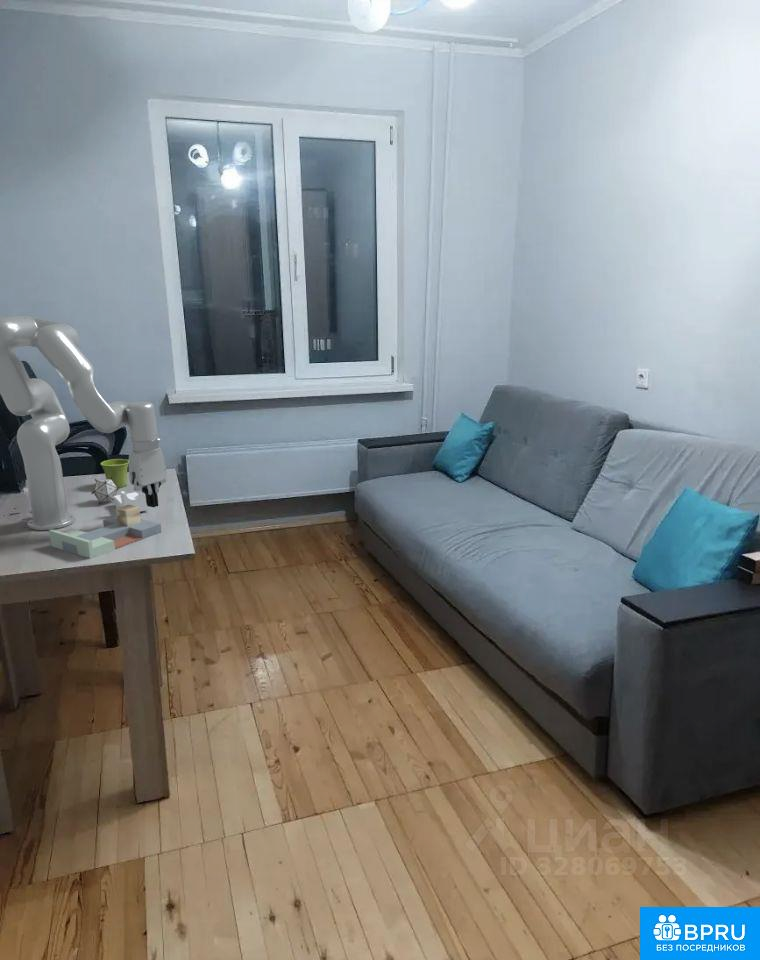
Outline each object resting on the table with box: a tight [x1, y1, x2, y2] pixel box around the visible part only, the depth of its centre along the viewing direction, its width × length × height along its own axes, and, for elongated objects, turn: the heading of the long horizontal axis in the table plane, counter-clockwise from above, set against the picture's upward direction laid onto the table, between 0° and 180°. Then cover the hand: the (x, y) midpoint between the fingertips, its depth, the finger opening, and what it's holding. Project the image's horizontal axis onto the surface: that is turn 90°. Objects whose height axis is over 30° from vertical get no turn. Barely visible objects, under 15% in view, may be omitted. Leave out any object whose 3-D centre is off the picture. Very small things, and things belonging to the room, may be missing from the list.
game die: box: [90, 477, 121, 505], centre depth 222 cm, size 9×8×10 cm
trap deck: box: [48, 515, 162, 559], centre depth 190 cm, size 17×23×4 cm
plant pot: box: [100, 458, 129, 488], centre depth 240 cm, size 9×9×9 cm
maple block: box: [115, 505, 142, 526], centre depth 196 cm, size 4×4×4 cm
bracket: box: [113, 490, 149, 513], centre depth 216 cm, size 13×7×8 cm, turn 34°
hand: (152, 505), depth 202 cm, fingers closed
